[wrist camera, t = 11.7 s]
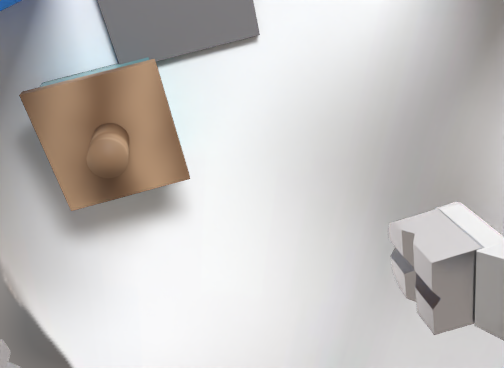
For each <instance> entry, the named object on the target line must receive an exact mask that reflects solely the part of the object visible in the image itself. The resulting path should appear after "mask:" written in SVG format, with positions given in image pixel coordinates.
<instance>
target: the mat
mask: <svg viewBox="0 0 504 368" xmlns="http://www.w3.org/2000/svg"><path fill="white" fill-rule="evenodd" d="M97 1H98V4H99V7H100V9H101V12H102V15H103V18H104V21H105V24H106V27H107V30H108V33H109V36H110V39H111V42H112V45H113V47H114V50H115V53H116V56H117V59H118V62H119V65H120V64H124V63H128V62H132V61H135V60H139V59H143V58H147V57H149V59H150V60H151V59H155V61H160V60H164V59H168V58H172V57H176V56H180V55H184V54H187V53H191V52H195V51H199V50H203V49H207V48H211V47H215V46H219V45H222V44H226V43H230V42H234V41H238V40H242V39H246V38H250V37H254V36H257V35H260V34H259V29H258V24H257V19H256V14H255V8H254V3H253V0H97Z"/></svg>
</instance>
